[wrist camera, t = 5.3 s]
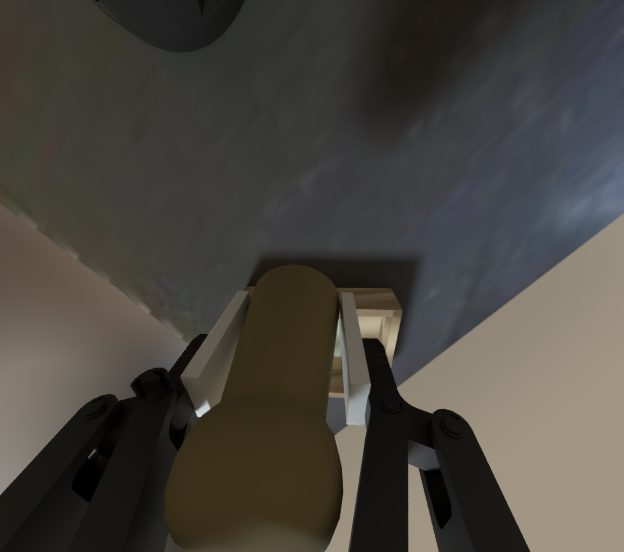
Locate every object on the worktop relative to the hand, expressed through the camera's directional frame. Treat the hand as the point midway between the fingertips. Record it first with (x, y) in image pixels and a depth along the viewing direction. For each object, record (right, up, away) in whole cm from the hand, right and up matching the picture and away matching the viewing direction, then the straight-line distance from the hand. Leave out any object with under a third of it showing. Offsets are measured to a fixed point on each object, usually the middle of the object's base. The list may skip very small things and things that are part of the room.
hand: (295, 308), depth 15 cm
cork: (0, 0, 0) cm, 1 cm away
